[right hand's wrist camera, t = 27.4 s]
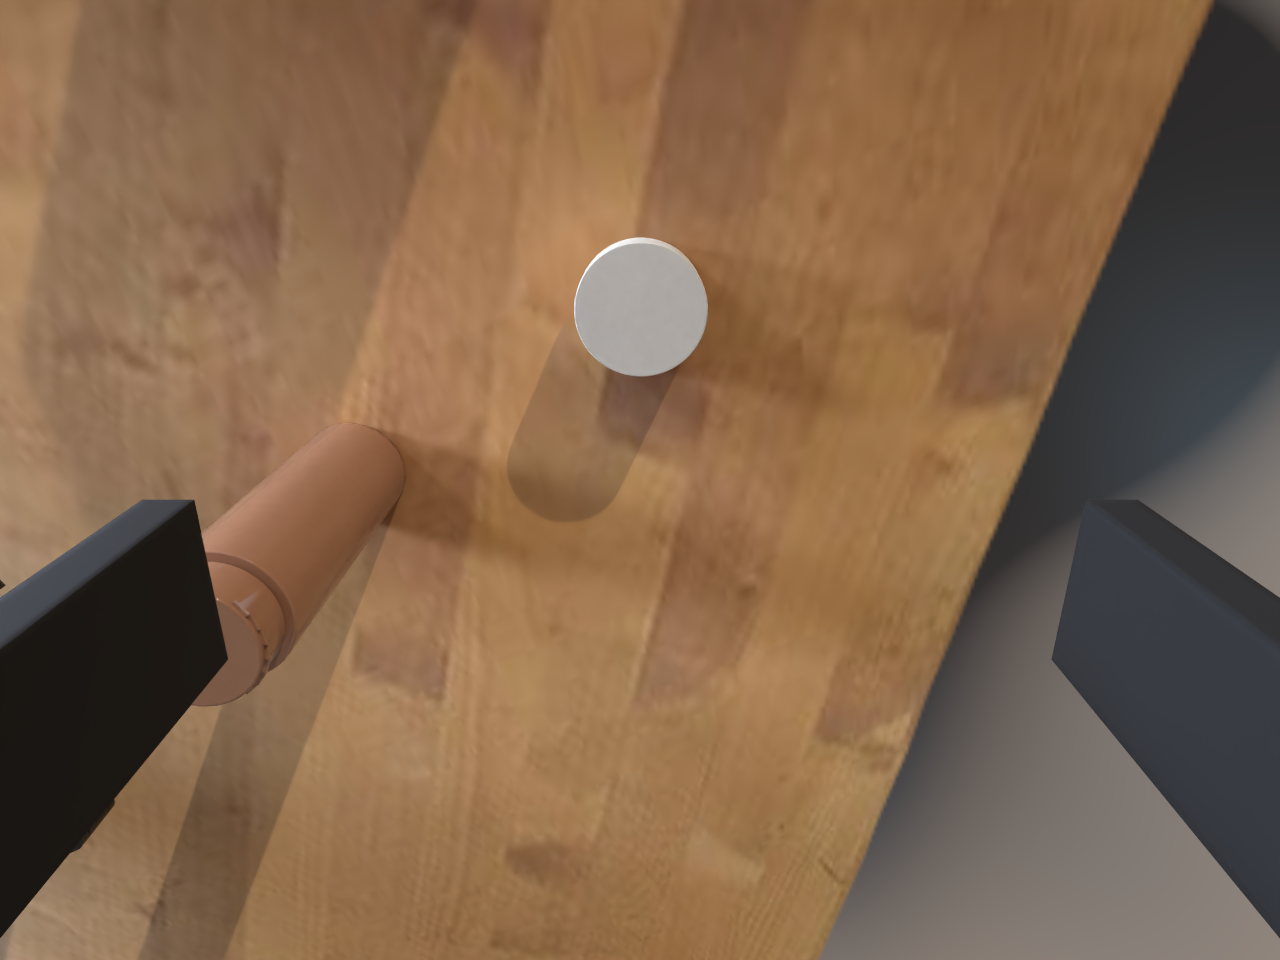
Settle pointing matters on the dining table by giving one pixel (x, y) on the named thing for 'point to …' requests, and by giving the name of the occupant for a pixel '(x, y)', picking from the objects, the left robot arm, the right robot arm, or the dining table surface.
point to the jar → (294, 547)
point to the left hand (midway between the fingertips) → (62, 666)
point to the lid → (641, 307)
